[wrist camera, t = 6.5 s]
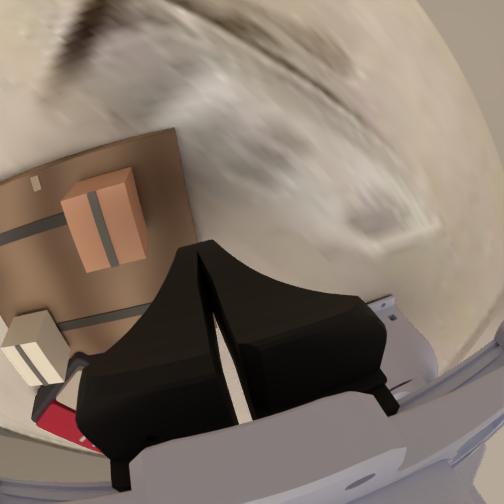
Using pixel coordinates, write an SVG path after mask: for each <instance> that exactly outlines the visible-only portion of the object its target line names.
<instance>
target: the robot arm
mask: <svg viewBox="0 0 504 504" xmlns="http://www.w3.org/2000/svg"><path fill="white" fill-rule="evenodd" d="M213 314H214V316H215V319H216V321H217V324H218V326H219V329H220V331H221V333H222V336H223V338H224V341H225V343H226V345H227V348H228V350H229V352H230V355H231V357H232V360H233V362H234V365H235V368H236V371H237V374H238V377H239V380H240V383H241V386H242V389H243V392H244V395H245V399H246V402H247V405H248V408H249V411H250V414H251V417H252V420H253V421H251V422H247V423H244V424H240V425H239V423H238V420H237V416H236V413H235V410H234V407H233V403H232V400H231V397H230V393H229V390H228V387H227V383H226V380H225V376H224V373H223V369H222V364H221V359H220V354H219V347H218V341H217V335H216V329H215V322H214V316H213ZM437 376H438V361H437V358H436V355H435V352H434V350H433V348H432V346H431V345H430V343H429V342H428V341H427V340H426V338H425V337H424V336H423V335H422V334H421V333H420V332H419V331H418V330H417V329H416V328H415V327H414V325H413V324H412V323H411V322H410V321H409V320H408V319H407V318H406V317H405V316H404V315H403V314H402V313H401V312H400V311H399V310H398V309H397V307H396V306H395V298H394V297H393V296H389V297H386V298H384V299H381V300H378V301H376V302H373V303H370V304H366V303H365V302H364V301H363V300H361V299H360V298H359V297H358V296H350V295H340V294H329V293H323V292H318V291H313V290H308V289H303V288H299V287H296V286H292V285H289V284H286V283H283V282H280V281H277V280H275V279H272V278H270V277H268V276H265V275H263V274H261V273H259V272H257V271H255V270H253V269H251V268H250V267H248V266H246V265H245V264H243V263H242V262H240V261H239V260H237V259H236V258H235V257H233V256H232V255H231V254H229V253H228V252H227V251H225V250H224V249H223V248H222V247H221V246H220V245H219V244H218V243H217V242H215V241H214V240H208V241H204V242H200V243H196V244H192V245H188V246H184V247H180V248H178V249H177V251H176V254H175V257H174V260H173V262H172V265H171V267H170V269H169V272H168V274H167V276H166V278H165V280H164V282H163V284H162V286H161V288H160V289H159V291H158V293H157V295H156V297H155V298H154V300H153V301H152V303H151V304H150V306H149V307H148V309H147V310H146V311H145V312H144V314H143V315H142V316H141V317H140V318H139V319H138V321H137V322H136V323H135V324H134V325H133V326H132V328H131V329H130V330H129V331H128V332H127V333H126V334H125V335H124V336H123V337H122V338H121V339H120V340H118V341H117V342H116V343H115V344H114V345H113V346H112V347H111V348H109V349H108V350H107V351H106V352H105V353H103V354H102V355H101V356H99V357H98V358H97V359H95V360H94V361H93V362H91V363H90V364H89V365H87V366H86V367H84V368H83V370H82V374H81V378H80V382H79V388H78V396H77V405H76V415H75V421H76V424H77V428H78V429H79V431H80V432H81V433H82V434H83V436H84V437H85V438H86V439H88V440H89V441H90V442H91V443H92V444H93V445H94V446H95V447H96V448H97V449H99V450H100V451H101V452H102V453H103V454H104V455H106V456H107V457H108V458H109V459H110V465H111V481H99V482H57V481H38V480H25V479H16V478H8V477H1V476H0V504H486V503H485V501H484V500H483V498H482V497H481V495H480V494H479V492H478V491H477V489H476V488H475V486H474V485H473V481H474V479H475V476H476V474H477V471H478V469H479V467H480V464H481V461H482V459H483V456H484V454H485V450H486V444H485V442H486V441H487V440H488V439H490V438H491V437H492V436H493V435H494V434H495V433H496V432H497V431H498V430H499V429H500V428H501V427H502V426H503V425H504V320H503V322H502V323H501V324H500V326H499V328H498V330H497V332H496V334H495V337H494V340H492V341H491V342H490V343H488V344H487V345H486V346H484V347H483V348H481V349H480V350H479V351H477V352H476V353H474V354H473V355H472V356H470V357H469V358H467V359H466V360H464V361H463V362H461V363H460V364H458V365H457V366H455V367H454V368H452V369H451V370H449V371H447V372H446V373H444V374H443V375H441V376H439V377H438V378H437Z"/></svg>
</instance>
